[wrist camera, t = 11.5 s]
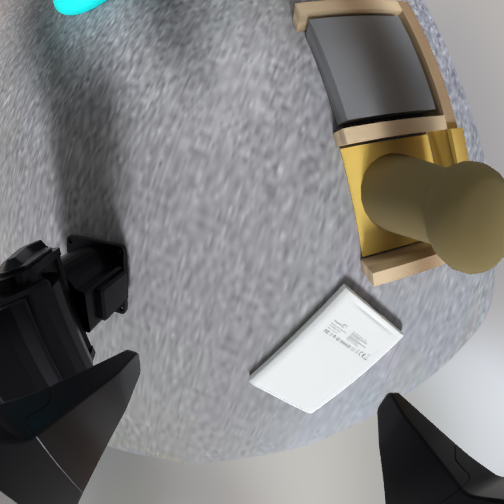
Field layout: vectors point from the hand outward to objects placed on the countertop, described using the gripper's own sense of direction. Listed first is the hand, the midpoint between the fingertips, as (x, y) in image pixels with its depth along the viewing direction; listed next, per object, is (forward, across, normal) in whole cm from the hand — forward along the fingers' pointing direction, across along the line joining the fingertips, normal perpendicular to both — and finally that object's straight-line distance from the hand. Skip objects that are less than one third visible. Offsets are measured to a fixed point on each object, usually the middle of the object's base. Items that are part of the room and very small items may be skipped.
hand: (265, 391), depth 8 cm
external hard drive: (+14, -6, +8) cm, 18 cm away
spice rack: (+13, -6, -11) cm, 19 cm away
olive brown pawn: (+13, -8, -7) cm, 17 cm away
